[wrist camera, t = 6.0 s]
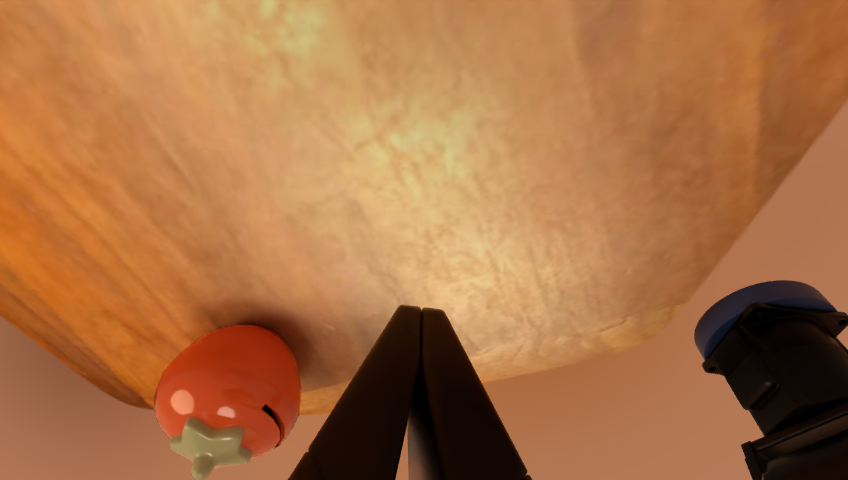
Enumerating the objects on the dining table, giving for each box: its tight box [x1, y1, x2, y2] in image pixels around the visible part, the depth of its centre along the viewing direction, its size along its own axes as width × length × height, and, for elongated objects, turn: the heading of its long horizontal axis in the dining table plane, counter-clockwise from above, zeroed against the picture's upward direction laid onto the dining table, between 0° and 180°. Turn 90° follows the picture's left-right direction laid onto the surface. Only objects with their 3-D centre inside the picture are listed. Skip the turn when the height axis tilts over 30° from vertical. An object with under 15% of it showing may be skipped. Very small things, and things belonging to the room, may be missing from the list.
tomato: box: [154, 324, 301, 480], centre depth 24 cm, size 7×7×8 cm
